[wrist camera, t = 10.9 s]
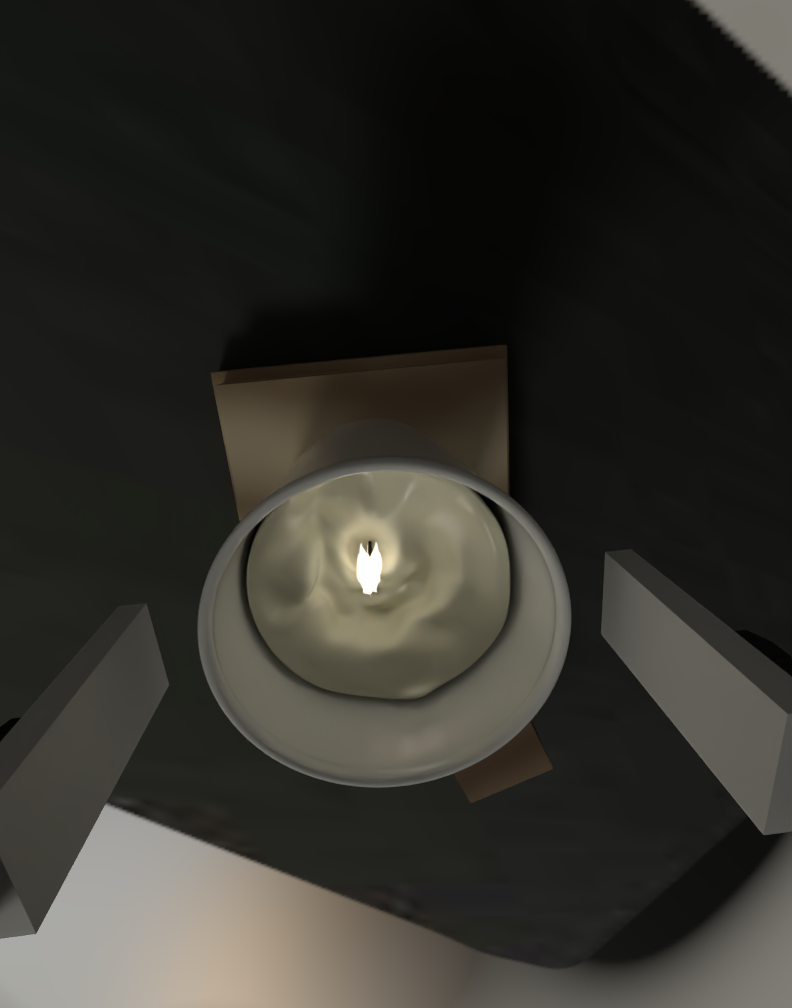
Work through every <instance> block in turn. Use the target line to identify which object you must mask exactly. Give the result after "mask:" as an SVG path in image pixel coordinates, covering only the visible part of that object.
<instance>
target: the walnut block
mask: <svg viewBox="0 0 792 1008" xmlns="http://www.w3.org/2000/svg"><path fill="white" fill-rule="evenodd" d="M551 769H553V767H552V765H551V762H550V760H549V758H548V756H547V754H546V751H545V749H544V747H543V745H542V742H541V740H540V738H539V736H538V733H537V731H536V729H535V727H534V725H533V722H532V720H531V721H530V722H529V723H528V724H527V725H526V726H525V727H524V728H523V729H522V730H521V731H520V732H519V733H518V734H517V735H516V736H515V737H514V738H513V739H511V740H510V741H509V742H508V743H507V744H505V745H504V746H503V747H501V748H500V749H499V750H497V751H496V752H494V753H493V754H491V755H490V756H488V757H486V758H485V759H483V760H481V761H479V762H477V763H476V764H474V765H472V766H470V767H468V768H465V769H463V770H461V771H458V772H456V773H453V774H454V775H455V777H456V779H457V780H458V782H459V784H460V786H461V787H462V789H463V791H464V793H465V794H466V796H467V798H468V800H469V801H470V803H473V802H475V801H477V800H480V799H482V798H485V797H487V796H489V795H492V794H494V793H496V792H499V791H501V790H504V789H506V788H508V787H511V786H513V785H515V784H518V783H520V782H523V781H525V780H527V779H530V778H532V777H534V776H537V775H539V774H542V773H544V772H546V771H549V770H551Z"/></svg>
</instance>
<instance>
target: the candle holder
mask: <svg viewBox="0 0 792 1008" xmlns="http://www.w3.org/2000/svg"><path fill="white" fill-rule="evenodd" d="M570 631H571V603H570V595H569V589H568V585H567V581H566V577H565V574H564V570H563V568H562V565H561V562H560V560H559V558H558V555H557V553H556V551H555V549H554V547H553V546H552V544H551V542H550V540H549V539H548V537H547V536H546V534H545V533H544V531H543V530H542V529H541V527H540V526H539V525H538V523H537V522H536V521H535V520H534V519H533V517H532V516H531V515H530V514H529V513H528V512H527V511H526V510H525V509H524V508H523V507H522V506H521V505H520V504H519V503H518V502H516V501H515V500H514V499H513V498H512V497H510V496H509V495H508V494H506V493H505V492H504V491H502V490H501V489H499V488H498V487H496V486H495V485H493V484H492V483H490V482H488V481H486V480H485V479H483V478H482V477H481V476H480V475H479V474H477V473H476V472H475V471H474V470H472V469H471V468H470V467H469V466H468V465H466V464H465V463H464V462H463V461H461V460H460V459H459V458H458V457H457V456H455V455H454V454H453V453H452V452H450V451H449V450H448V449H447V448H445V447H444V446H443V445H442V444H440V443H439V442H438V441H437V440H435V439H434V438H433V437H431V436H430V435H428V434H427V433H425V432H424V431H422V430H420V429H418V428H416V427H414V426H412V425H409V424H407V423H404V422H400V421H397V420H392V419H384V418H367V419H360V420H355V421H351V422H347V423H345V424H342V425H339V426H337V427H335V428H333V429H331V430H330V431H328V432H326V433H325V434H323V435H322V436H320V437H319V438H318V439H317V440H315V441H314V442H313V443H312V444H311V445H310V446H309V447H308V448H307V449H306V450H305V451H304V452H303V453H302V454H301V456H300V457H299V458H298V459H297V460H296V461H295V462H294V464H293V465H292V466H291V467H290V468H289V469H288V471H287V472H286V473H285V474H284V475H283V477H282V478H281V479H280V480H279V481H278V482H277V484H276V485H275V486H274V487H273V488H272V490H271V491H270V492H269V493H268V494H267V495H266V497H265V498H264V499H263V500H262V501H261V502H260V503H259V504H258V505H256V506H255V507H254V508H253V509H252V510H251V511H250V512H249V513H248V514H247V515H246V516H245V517H244V518H243V519H242V520H241V521H240V522H239V523H238V525H237V526H236V527H235V528H234V529H233V531H232V532H231V533H230V535H229V536H228V537H227V539H226V540H225V542H224V543H223V545H222V546H221V548H220V550H219V552H218V553H217V555H216V557H215V559H214V561H213V563H212V565H211V568H210V570H209V572H208V575H207V578H206V581H205V584H204V587H203V591H202V595H201V599H200V605H199V612H198V645H199V652H200V658H201V662H202V666H203V670H204V673H205V676H206V679H207V681H208V684H209V686H210V688H211V691H212V693H213V695H214V697H215V699H216V700H217V702H218V704H219V705H220V707H221V709H222V710H223V712H224V713H225V714H226V716H227V717H228V718H229V720H230V721H231V722H232V723H233V725H234V726H235V727H236V728H237V729H238V730H239V731H240V732H241V733H242V734H243V735H244V736H245V737H246V738H247V739H248V740H249V741H250V742H251V743H253V744H254V745H255V746H256V747H258V748H259V749H260V750H261V751H263V752H264V753H266V754H267V755H269V756H270V757H272V758H273V759H275V760H277V761H278V762H280V763H282V764H284V765H286V766H288V767H290V768H292V769H294V770H296V771H298V772H301V773H303V774H306V775H309V776H311V777H314V778H318V779H321V780H325V781H329V782H333V783H338V784H343V785H350V786H359V787H397V786H406V785H412V784H418V783H423V782H427V781H431V780H435V779H439V778H442V777H445V776H448V775H451V774H453V773H456V772H458V771H461V770H463V769H465V768H468V767H470V766H472V765H474V764H476V763H477V762H479V761H481V760H483V759H485V758H486V757H488V756H490V755H491V754H493V753H494V752H496V751H497V750H499V749H500V748H501V747H503V746H504V745H505V744H507V743H508V742H509V741H510V740H511V739H513V738H514V737H515V736H516V735H517V734H518V733H519V732H520V731H521V730H522V729H523V728H524V727H525V726H526V725H527V724H528V723H529V722H530V721H531V720H532V719H533V717H534V716H535V715H536V714H537V712H538V711H539V710H540V708H541V707H542V706H543V704H544V703H545V701H546V700H547V698H548V696H549V695H550V693H551V691H552V689H553V688H554V686H555V684H556V682H557V679H558V677H559V675H560V672H561V670H562V667H563V664H564V661H565V658H566V654H567V650H568V645H569V639H570Z"/></svg>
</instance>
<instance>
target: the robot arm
mask: <svg viewBox="0 0 792 1008" xmlns="http://www.w3.org/2000/svg"><path fill="white" fill-rule="evenodd" d="M601 634H602V636H603V637H604V638H605V639H606V641H607V642H608V643H609V644H610V646H611V647H612V648H613V649H614V651H615V652H616V653H617V654H618V656H619V657H620V658H621V659H622V660H623V662H624V663H625V664H626V665H627V667H628V668H629V669H630V670H631V672H632V673H633V674H634V675H635V677H636V678H637V679H638V680H639V682H640V683H641V684H642V685H643V686H644V688H645V689H646V690H647V691H648V693H649V694H650V695H651V696H652V698H653V699H654V700H655V701H656V703H657V704H658V705H659V706H660V708H661V709H662V710H663V711H664V712H665V714H666V715H667V716H668V717H669V719H670V720H671V721H672V722H673V724H674V725H675V726H676V727H677V729H678V730H679V731H680V732H681V734H682V735H683V736H684V737H685V738H686V740H687V741H688V742H689V743H690V745H691V746H692V747H693V748H694V750H695V751H696V752H697V753H698V755H699V756H700V757H701V758H702V760H703V761H704V762H705V763H706V764H707V766H708V767H709V768H710V769H711V771H712V772H713V773H714V774H715V776H716V777H717V778H718V779H719V781H720V782H721V783H722V784H723V786H724V787H725V788H726V789H727V790H728V792H729V793H730V794H731V795H732V797H733V798H734V799H735V800H736V802H737V803H738V804H739V805H740V807H741V808H742V809H743V810H744V811H745V813H746V814H747V815H748V816H749V818H750V819H751V820H752V821H753V823H754V824H755V825H756V826H757V828H758V829H759V830H760V831H761V832H762V834H763V835H768V834H775V833H783V832H790V831H792V659H791V656H790V655H789V654H787V653H786V652H785V651H783V650H782V649H781V648H779V647H778V646H777V645H775V644H774V643H773V642H771V641H769V640H767V639H765V638H762V637H760V636H758V635H756V634H754V633H751V632H749V631H747V630H741V631H733V630H732V629H731V628H730V627H728V626H727V625H726V624H725V623H723V622H722V621H721V620H720V619H718V618H717V617H716V616H714V615H713V614H712V613H711V612H709V611H708V610H707V609H706V608H704V607H703V606H702V605H701V604H699V603H698V602H697V601H696V600H694V599H693V598H692V597H691V596H689V595H688V594H687V593H685V592H684V591H683V590H682V589H680V588H679V587H678V586H677V585H675V584H674V583H673V582H672V581H670V580H669V579H668V578H667V577H665V576H664V575H663V574H662V573H660V572H659V571H658V570H656V569H655V568H654V567H653V566H651V565H650V564H649V563H648V562H646V561H645V560H644V559H643V558H641V557H640V556H639V555H638V554H636V553H635V552H634V551H633V550H631V549H630V550H621V551H612V552H605V567H604V587H603V607H602V627H601ZM168 686H169V683H168V680H167V676H166V672H165V669H164V665H163V662H162V658H161V654H160V651H159V647H158V644H157V640H156V636H155V633H154V629H153V626H152V622H151V619H150V615H149V611H148V608H147V604H146V603H144V604H135V605H126V606H118V607H117V609H116V610H115V611H114V612H113V613H112V614H111V615H110V617H109V618H108V619H107V620H106V621H105V622H104V623H103V625H102V626H101V627H100V628H99V629H98V630H97V631H96V633H95V634H94V635H93V636H92V637H91V638H90V640H89V641H88V642H87V643H86V644H85V645H84V646H83V648H82V649H81V650H80V651H79V652H78V653H77V654H76V656H75V657H74V658H73V659H72V660H71V661H70V662H69V664H68V665H67V666H66V667H65V668H64V669H63V670H62V672H61V673H60V674H59V675H58V676H57V677H56V679H55V680H54V681H53V682H52V683H51V684H50V685H49V687H48V688H47V689H46V690H45V691H44V692H43V693H42V695H41V696H40V697H39V698H38V699H37V700H36V701H35V703H34V704H33V705H32V706H31V707H30V708H29V710H28V711H27V712H26V713H25V714H24V715H23V716H22V718H14V719H11V720H9V721H8V722H6V723H5V724H4V725H2V726H1V727H0V939H1V938H8V937H15V936H23V935H30V934H36V933H37V931H38V929H39V927H40V925H41V924H42V922H43V920H44V918H45V916H46V914H47V912H48V910H49V909H50V907H51V905H52V903H53V901H54V899H55V897H56V895H57V894H58V892H59V890H60V888H61V886H62V884H63V882H64V880H65V879H66V877H67V875H68V873H69V871H70V869H71V867H72V865H73V864H74V862H75V860H76V858H77V856H78V854H79V852H80V850H81V849H82V847H83V845H84V843H85V841H86V839H87V837H88V836H89V834H90V832H91V829H92V828H93V826H94V824H95V822H96V821H97V819H98V817H99V815H100V813H101V811H102V809H103V807H104V806H105V804H106V802H107V800H108V798H109V796H110V794H111V792H112V791H113V789H114V787H115V785H116V783H117V781H118V779H119V778H120V776H121V774H122V772H123V770H124V768H125V766H126V764H127V763H128V761H129V759H130V757H131V755H132V753H133V751H134V749H135V748H136V746H137V744H138V742H139V740H140V738H141V736H142V734H143V733H144V731H145V729H146V727H147V725H148V723H149V721H150V719H151V718H152V716H153V714H154V712H155V710H156V708H157V706H158V704H159V703H160V701H161V699H162V697H163V695H164V693H165V691H166V689H167V688H168Z"/></svg>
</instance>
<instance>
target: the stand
mask: <svg viewBox="0 0 792 1008" xmlns="http://www.w3.org/2000/svg"><path fill="white" fill-rule="evenodd" d="M211 377H212V382H213V387H214V392H215V397H216V402H217V408H218V413H219V418H220V423H221V428H222V433H223V438H224V443H225V448H226V454H227V459H228V464H229V469H230V474H231V479H232V484H233V489H234V494H235V500H236V505H237V510H238V515H239V520H240V521H241V520H242V519H243V518H244V517H245V516H246V515H247V514H248V513H249V512H250V511H251V510H252V509H253V508H254V507H255V506H256V505H258V504H259V503H260V502H261V501H262V500H263V499H264V498H265V497H266V495H267V494H268V493H269V492H270V491H271V490H272V488H273V487H274V486H275V485H276V484H277V482H278V481H279V480H280V479H281V478H282V477H283V475H284V474H285V473H286V472H287V471H288V469H289V468H290V467H291V466H292V465H293V464H294V462H295V461H296V460H297V459H298V458H299V457H300V456H301V454H302V453H303V452H304V451H305V450H306V449H307V448H308V447H309V446H310V445H311V444H312V443H313V442H314V441H315V440H317V439H318V438H319V437H320V436H322V435H323V434H325V433H326V432H328V431H330V430H331V429H333V428H335V427H337V426H339V425H342V424H345V423H347V422H351V421H355V420H360V419H367V418H384V419H392V420H397V421H400V422H404V423H407V424H409V425H412V426H414V427H416V428H418V429H420V430H422V431H424V432H425V433H427V434H428V435H430V436H431V437H433V438H434V439H435V440H437V441H438V442H439V443H440V444H442V445H443V446H444V447H445V448H447V449H448V450H449V451H450V452H452V453H453V454H454V455H455V456H457V457H458V458H459V459H460V460H461V461H463V462H464V463H465V464H466V465H468V466H469V467H470V468H471V469H472V470H474V471H475V472H476V473H477V474H479V475H480V476H481V477H482V478H483V479H485V480H486V481H488V482H490V483H492V484H493V485H495V486H496V487H498V488H499V489H501V490H502V491H504V492H505V493H506V494H508V495H509V496H510V480H509V425H508V370H507V345H490V346H479V347H469V348H458V349H447V350H437V351H426V352H415V353H405V354H394V355H383V356H373V357H362V358H351V359H341V360H330V361H319V362H308V363H298V364H287V365H276V366H266V367H255V368H244V369H234V370H223V371H216V372H212V373H211Z"/></svg>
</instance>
